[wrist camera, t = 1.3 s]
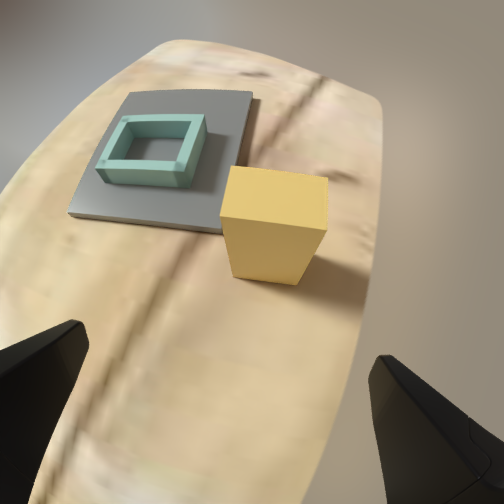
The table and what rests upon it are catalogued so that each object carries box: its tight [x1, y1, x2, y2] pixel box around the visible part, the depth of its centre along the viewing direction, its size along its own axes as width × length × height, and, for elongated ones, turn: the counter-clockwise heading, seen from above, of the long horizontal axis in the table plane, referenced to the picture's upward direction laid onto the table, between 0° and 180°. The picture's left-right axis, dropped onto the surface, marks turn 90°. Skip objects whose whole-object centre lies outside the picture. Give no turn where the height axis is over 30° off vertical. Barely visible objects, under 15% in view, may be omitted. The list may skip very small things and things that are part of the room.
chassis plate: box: [67, 89, 253, 234], centre depth 26 cm, size 18×16×4 cm
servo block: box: [220, 165, 328, 285], centre depth 18 cm, size 3×5×10 cm, turn 82°
